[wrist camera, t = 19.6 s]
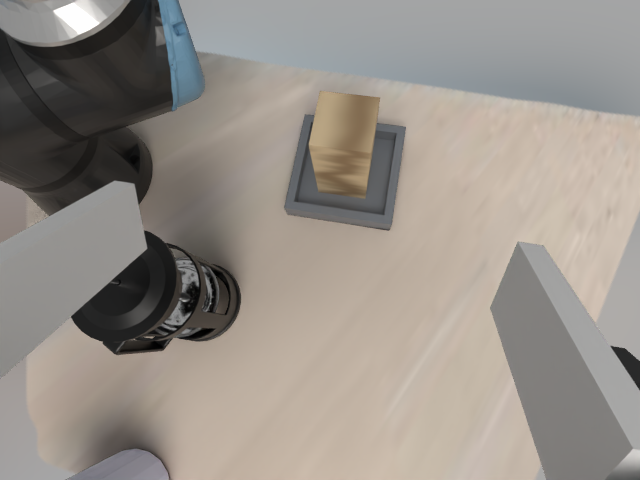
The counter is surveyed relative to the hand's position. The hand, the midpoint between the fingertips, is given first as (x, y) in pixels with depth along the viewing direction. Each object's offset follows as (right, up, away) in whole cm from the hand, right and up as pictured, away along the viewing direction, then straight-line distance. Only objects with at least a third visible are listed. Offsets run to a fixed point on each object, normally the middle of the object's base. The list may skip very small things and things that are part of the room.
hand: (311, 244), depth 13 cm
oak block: (+4, +9, +34) cm, 35 cm away
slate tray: (+4, +9, +35) cm, 36 cm away
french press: (-14, -8, +32) cm, 36 cm away
